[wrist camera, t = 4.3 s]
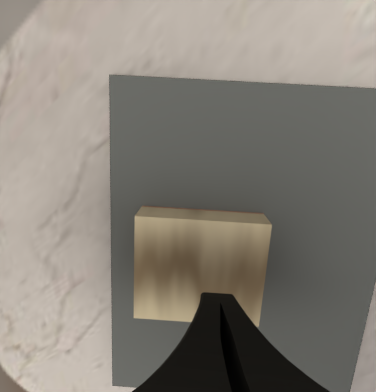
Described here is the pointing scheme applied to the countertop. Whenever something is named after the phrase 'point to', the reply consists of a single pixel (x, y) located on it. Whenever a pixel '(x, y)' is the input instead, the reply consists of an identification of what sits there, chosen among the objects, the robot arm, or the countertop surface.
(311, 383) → the robot arm
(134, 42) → the countertop surface
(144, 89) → the mat
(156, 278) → the tile
